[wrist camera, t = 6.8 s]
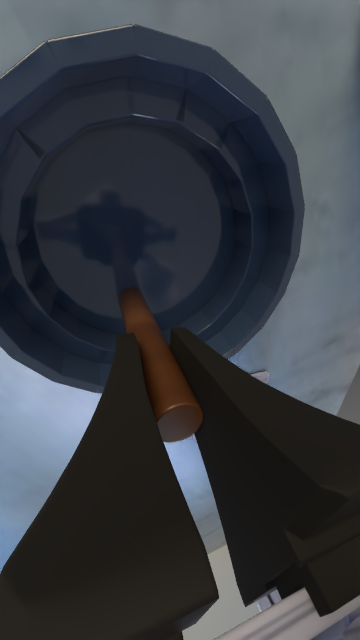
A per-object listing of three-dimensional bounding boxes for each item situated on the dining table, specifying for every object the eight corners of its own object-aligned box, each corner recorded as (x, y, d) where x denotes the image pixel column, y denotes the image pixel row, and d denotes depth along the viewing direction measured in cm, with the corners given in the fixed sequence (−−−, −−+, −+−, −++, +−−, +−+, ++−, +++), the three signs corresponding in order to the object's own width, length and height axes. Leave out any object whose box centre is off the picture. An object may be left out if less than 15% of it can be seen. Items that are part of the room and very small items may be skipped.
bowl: (227, 336, 21) (255, 372, 17) (32, 360, 16) (16, 417, 12) (284, 111, 13) (360, 92, 9) (-77, 26, 8) (-212, -84, 4)
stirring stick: (142, 309, 16) (200, 437, 7) (118, 311, 15) (151, 449, 7) (143, 287, 15) (207, 399, 7) (117, 287, 15) (153, 410, 6)
